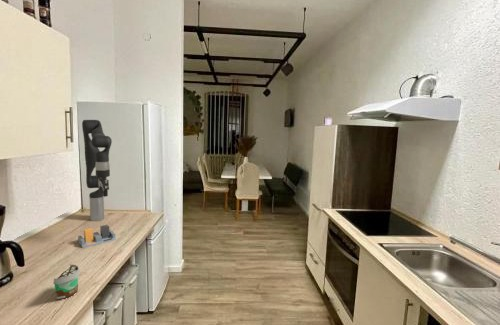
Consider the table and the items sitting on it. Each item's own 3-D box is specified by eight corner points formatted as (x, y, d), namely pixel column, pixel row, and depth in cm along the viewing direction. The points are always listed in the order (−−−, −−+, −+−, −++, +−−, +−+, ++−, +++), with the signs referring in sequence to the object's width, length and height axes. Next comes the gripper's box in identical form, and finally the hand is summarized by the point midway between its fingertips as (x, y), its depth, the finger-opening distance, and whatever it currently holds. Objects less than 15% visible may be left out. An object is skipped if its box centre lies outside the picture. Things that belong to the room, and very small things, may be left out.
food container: (70, 302, 108) (69, 279, 107) (54, 302, 107) (53, 279, 106) (86, 284, 120) (85, 263, 119) (72, 284, 119) (71, 263, 118)
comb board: (77, 240, 164) (77, 235, 164) (109, 233, 176) (109, 228, 176) (82, 248, 155) (82, 242, 154) (116, 240, 167) (115, 234, 166)
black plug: (100, 236, 168) (100, 226, 168) (107, 235, 171) (107, 224, 170) (102, 238, 166) (102, 227, 165) (109, 237, 168) (109, 226, 167)
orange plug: (84, 240, 162) (83, 229, 161) (91, 238, 165) (91, 227, 164) (85, 242, 160) (85, 231, 159) (93, 240, 162) (92, 229, 161)
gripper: (92, 167, 165) (93, 193, 168) (98, 171, 155) (99, 198, 157) (106, 166, 171) (106, 191, 173) (112, 170, 160) (113, 196, 162)
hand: (103, 194), depth 165 cm, fingers open, 8 cm apart
